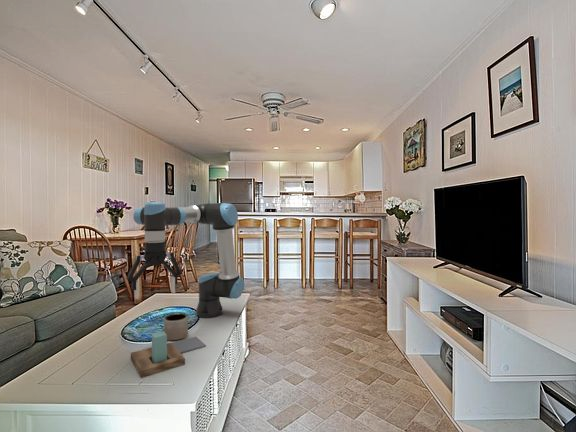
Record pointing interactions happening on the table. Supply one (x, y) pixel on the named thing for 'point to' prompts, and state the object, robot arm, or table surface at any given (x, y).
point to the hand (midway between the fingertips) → (155, 295)
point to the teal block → (159, 347)
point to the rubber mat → (188, 344)
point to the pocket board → (146, 367)
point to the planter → (176, 326)
